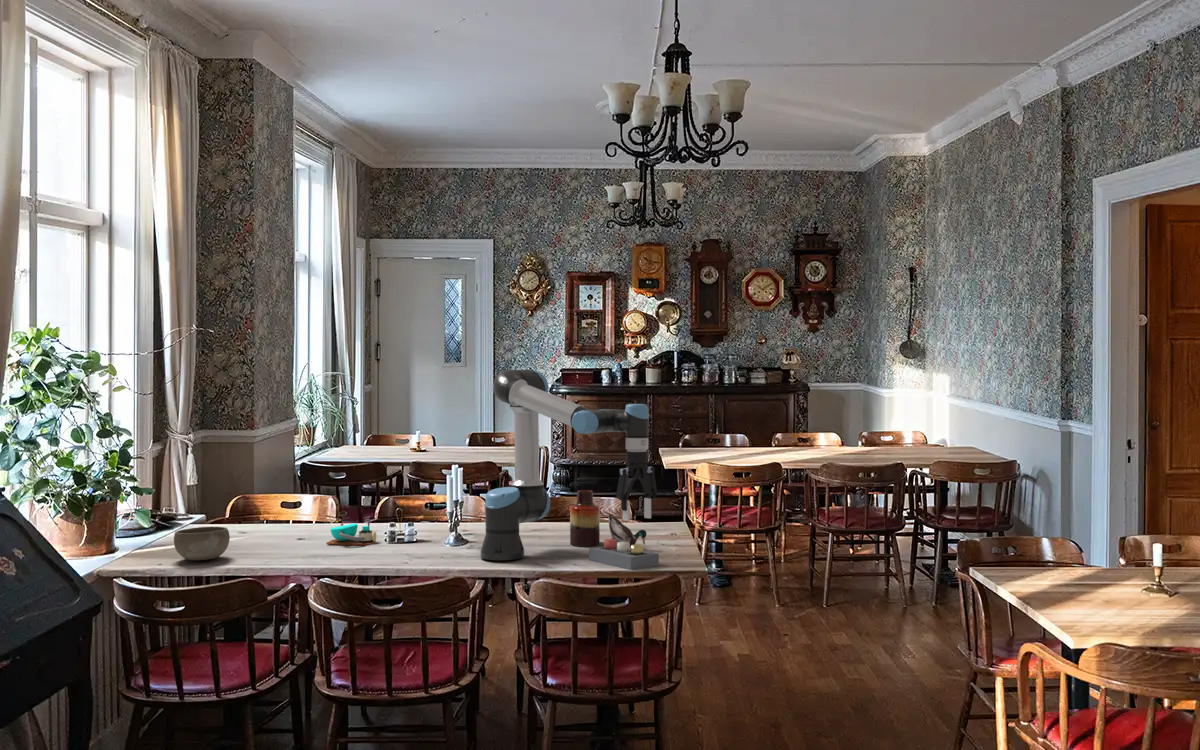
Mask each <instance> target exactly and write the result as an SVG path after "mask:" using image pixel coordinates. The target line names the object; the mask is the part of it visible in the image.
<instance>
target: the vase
mask: <svg viewBox="0 0 1200 750" xmlns="http://www.w3.org/2000/svg"><path fill="white" fill-rule="evenodd" d="M600 509H601V508H600V506H599V505H598V504H596V503H594V495H593V490H588V489H587V490H586V489H583V490H582V489H581V490H578V491H577V494H576V503H574V504H573V505H571V506H570V507H569V516H570V517H569V523H570V524H569V525H570V527H569V531H570V532H569V541H570V546H571V545H572V547H575V548H576V547H577V548H595V547H599V546H600V543H601V542H600V538H601V535H600V532H601V531H600V529H601V528H600V523H601V522H600V520H601V519H600V518H601V517H600V515H601V513H600V512H601V511H600Z"/></svg>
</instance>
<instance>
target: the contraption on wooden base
mask: <svg viewBox="0 0 1200 750" xmlns="http://www.w3.org/2000/svg"><path fill="white" fill-rule="evenodd" d="M347 515H348V512H347V511H340V512H338V513H337V516H338V517H337V520H336V522H335V523H338V522H339V521H338V520H339V519H340V517H341V518H342V521H341V523H340V526H335V527H330V529H329V530H330V532H331V536H332V537H333V538H334V539H331V540H329V541H327V542H325V543H326V546H329V547H331V546H332V547H333V546H334V547H366V546H371V545H372V544H374V543H376V542H377V532H376V531H373V530H371V529H370V522H371V521H370V518H366V519H365V520H364V523H365V524H367V525H362V529H361V530H359V531H358V524H357V523H349V524H345V525H344V523H343V522H344V519H345V517H346V516H347ZM357 532H358V536H356V534H357Z"/></svg>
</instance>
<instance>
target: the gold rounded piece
mask: <svg viewBox="0 0 1200 750" xmlns="http://www.w3.org/2000/svg"><path fill="white" fill-rule="evenodd" d="M643 550H644V544H636V543H635V545H631V555H635V556H638V555H643Z"/></svg>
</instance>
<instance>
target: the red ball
mask: <svg viewBox="0 0 1200 750" xmlns="http://www.w3.org/2000/svg"><path fill="white" fill-rule="evenodd" d="M616 543H617V542H616V540H615V539H612V538H607V539H606V538H605V539H604V540H603V546H604V549H607V550H613V549H616V545H617V544H616Z"/></svg>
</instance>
